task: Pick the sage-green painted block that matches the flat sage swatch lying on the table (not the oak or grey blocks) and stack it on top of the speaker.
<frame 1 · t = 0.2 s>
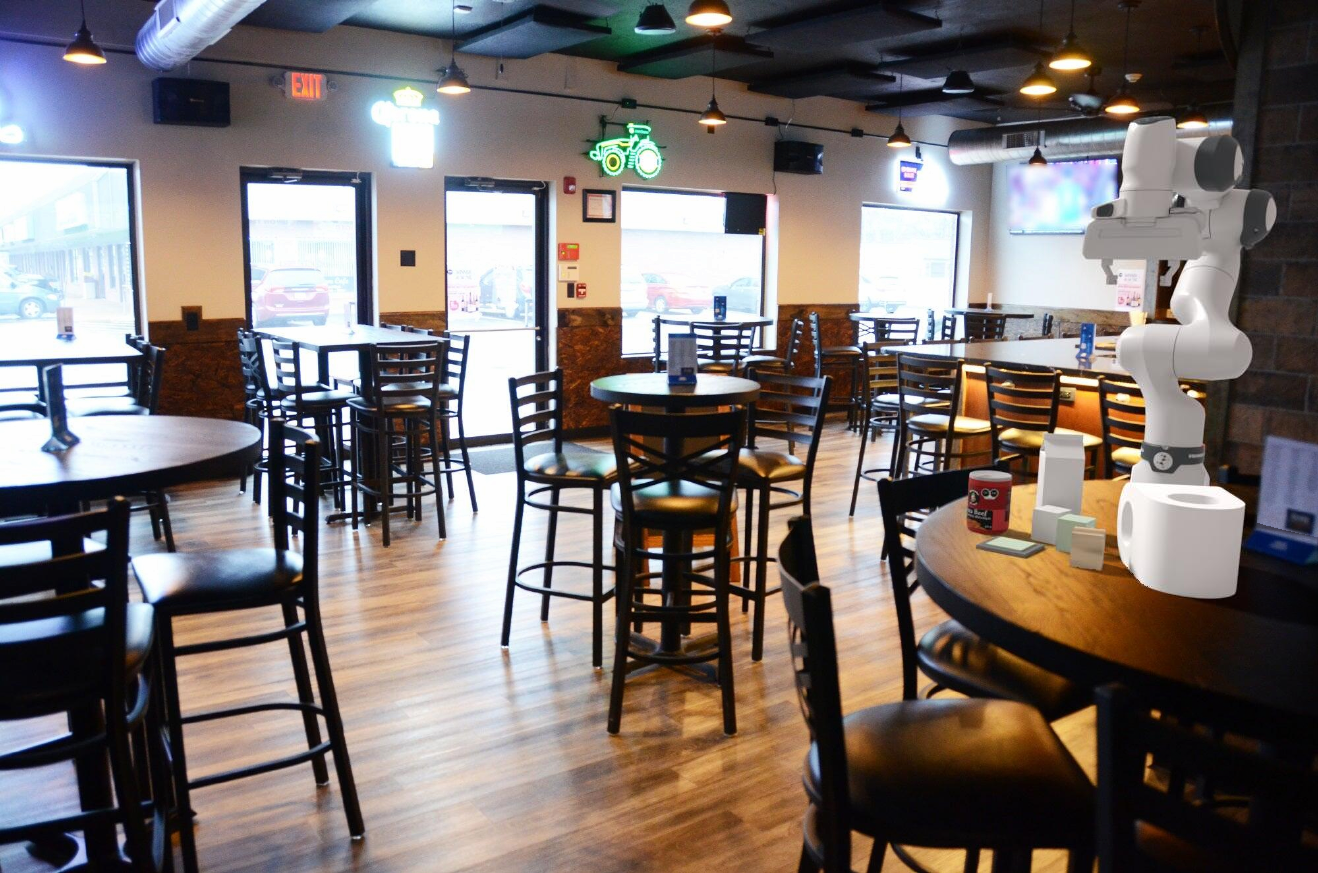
hand: (1137, 285, 192), 47 cm above the table, tool pointing down, fingers open, 8 cm apart
milk carton: (1056, 531, 203), on the table
grey block: (1050, 540, 196), on the table
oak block: (1086, 565, 180), on the table
speaker: (1176, 576, 175), on the table
canned food: (987, 530, 203), on the table
sage block: (1074, 550, 189), on the table
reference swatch: (1010, 548, 190), on the table
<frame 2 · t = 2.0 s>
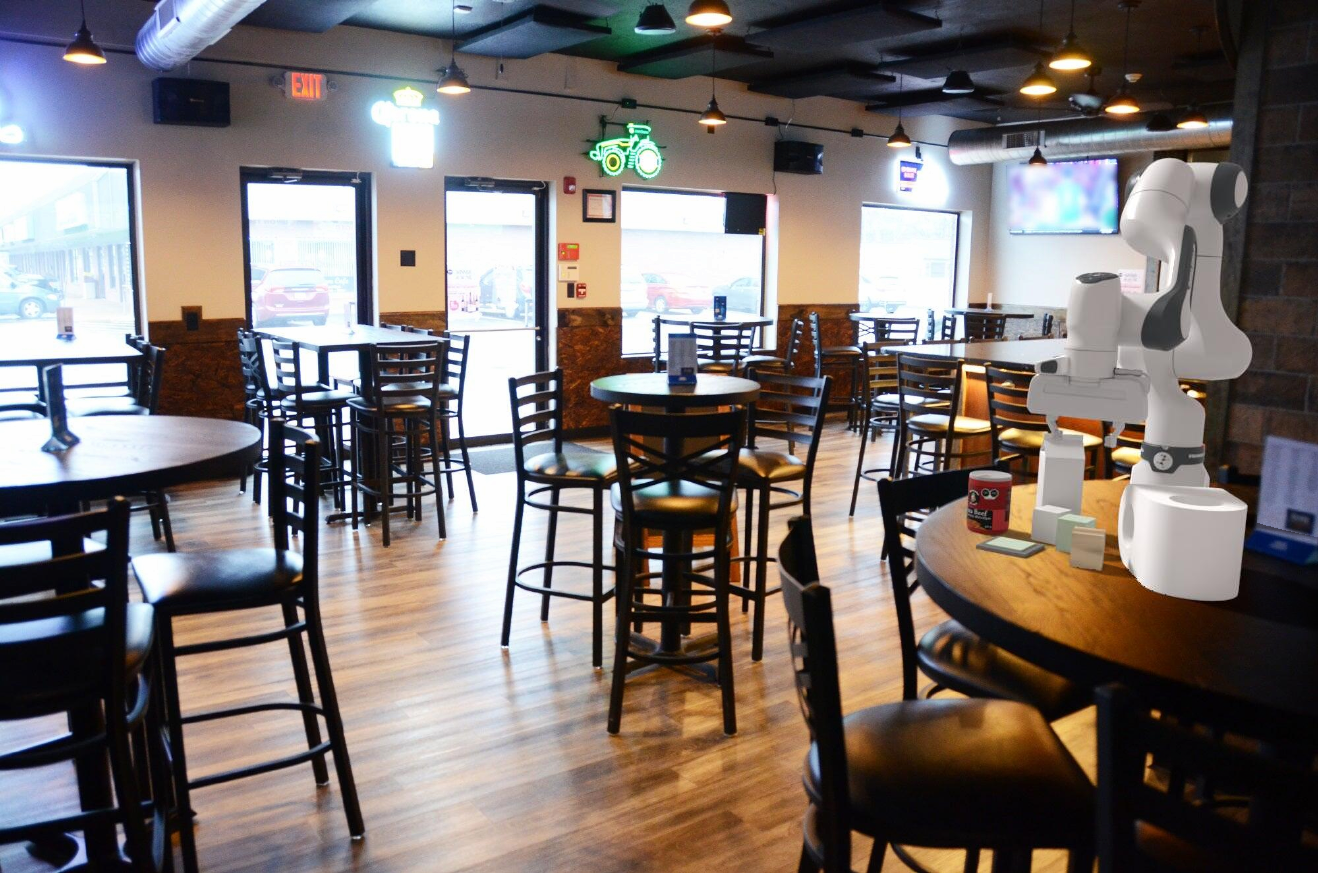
hand: (1082, 443, 186), 20 cm above the table, tool pointing down, fingers open, 8 cm apart
speaker: (1178, 578, 174), on the table
everything else where it was.
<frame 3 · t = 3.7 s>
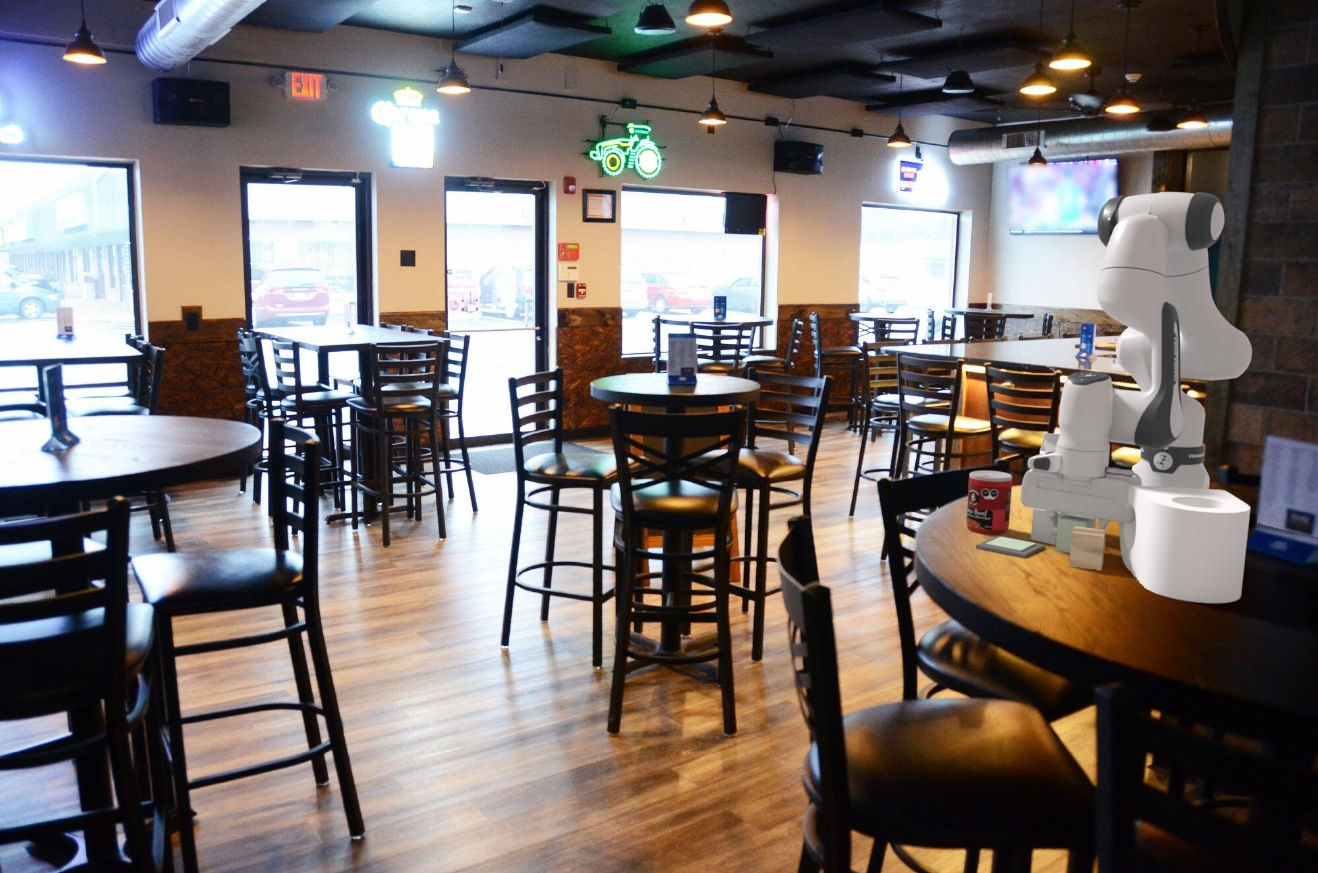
hand: (1075, 538, 189), 2 cm above the table, tool pointing down, fingers open, 6 cm apart
grey block: (1050, 540, 196), on the table, touching gripper
speaker: (1180, 580, 172), on the table
everything else where it was.
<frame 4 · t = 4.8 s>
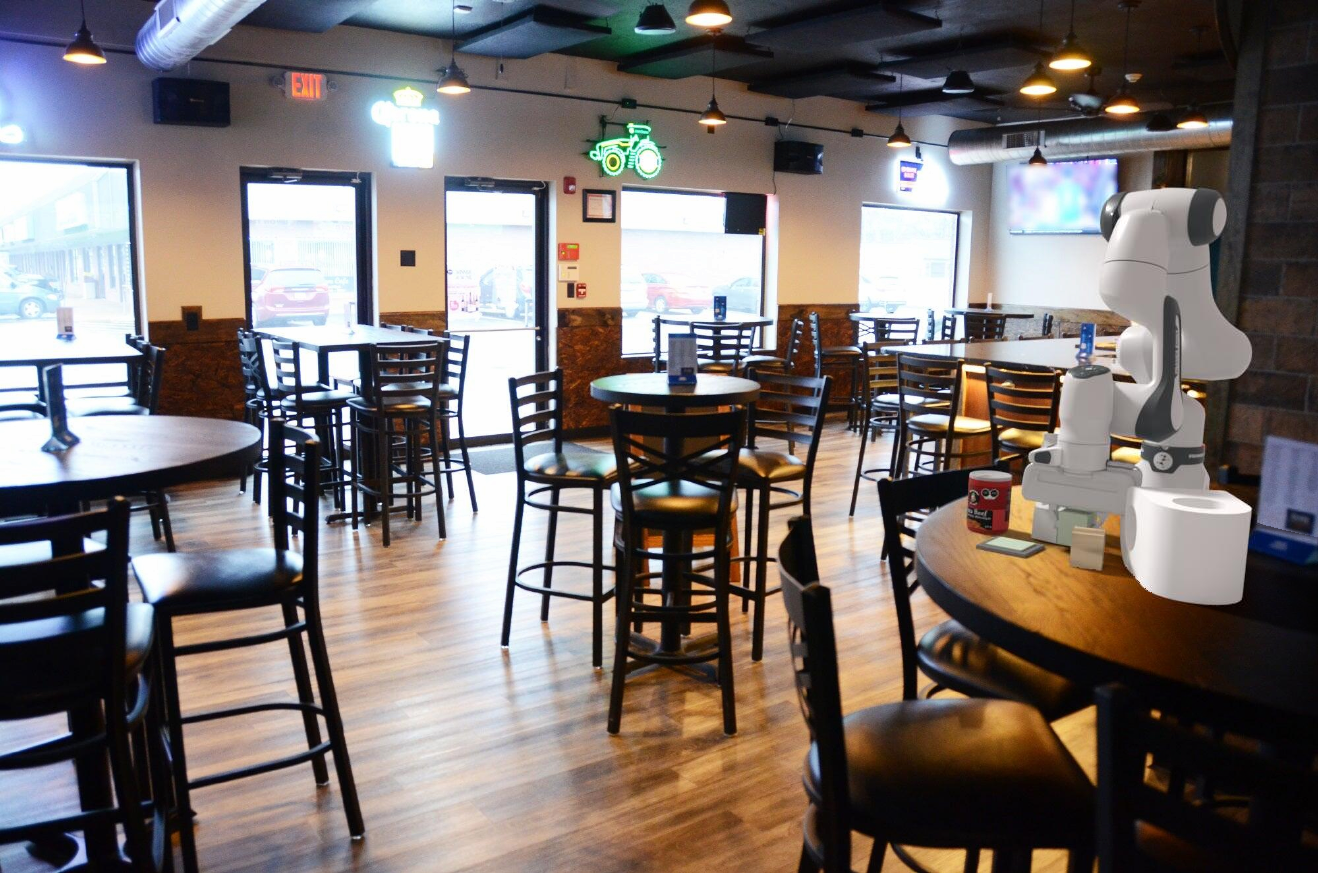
hand: (1076, 531, 189), 3 cm above the table, tool pointing down, fingers closed on sage block, 5 cm apart
grey block: (1050, 539, 196), on the table
sage block: (1076, 543, 189), point 1 cm above the table, touching gripper
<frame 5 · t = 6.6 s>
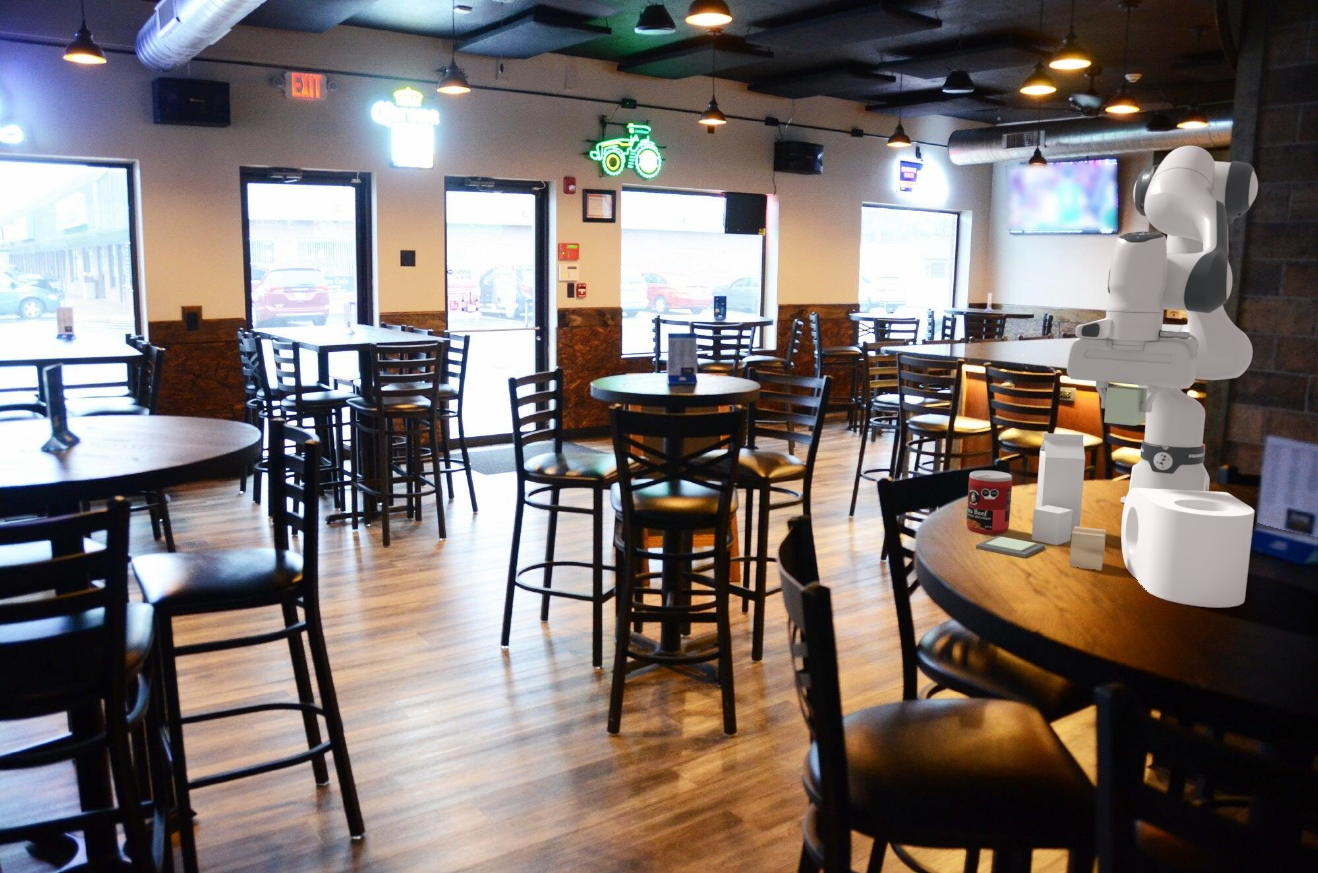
hand: (1125, 410, 179), 26 cm above the table, tool pointing down, fingers closed on sage block, 5 cm apart
speaker: (1183, 584, 170), on the table
sage block: (1124, 422, 179), point 24 cm above the table, touching gripper
everything else where it was.
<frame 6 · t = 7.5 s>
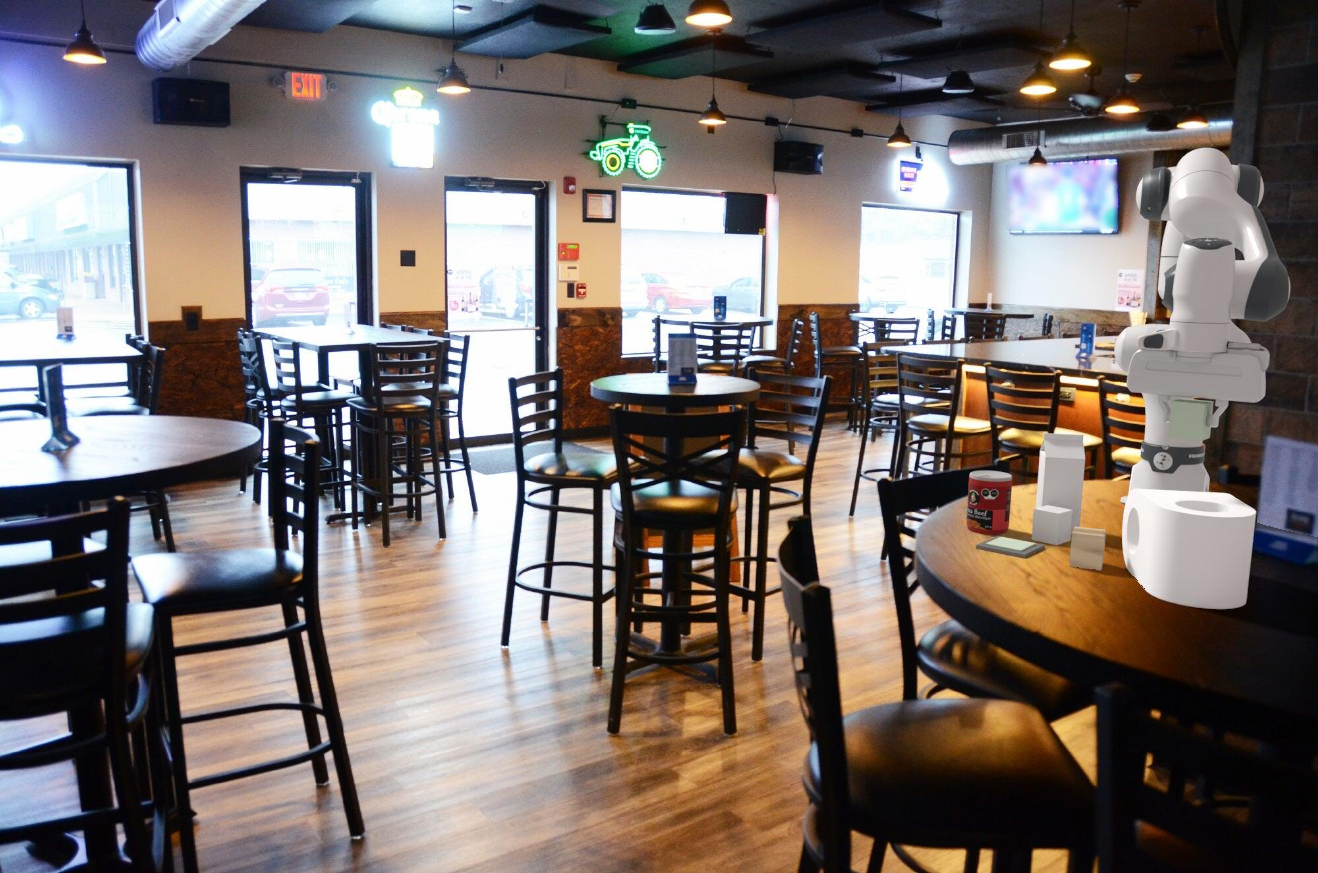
hand: (1190, 424, 171), 25 cm above the table, tool pointing down, fingers closed on sage block, 5 cm apart
sage block: (1188, 437, 171), point 23 cm above the table, touching gripper
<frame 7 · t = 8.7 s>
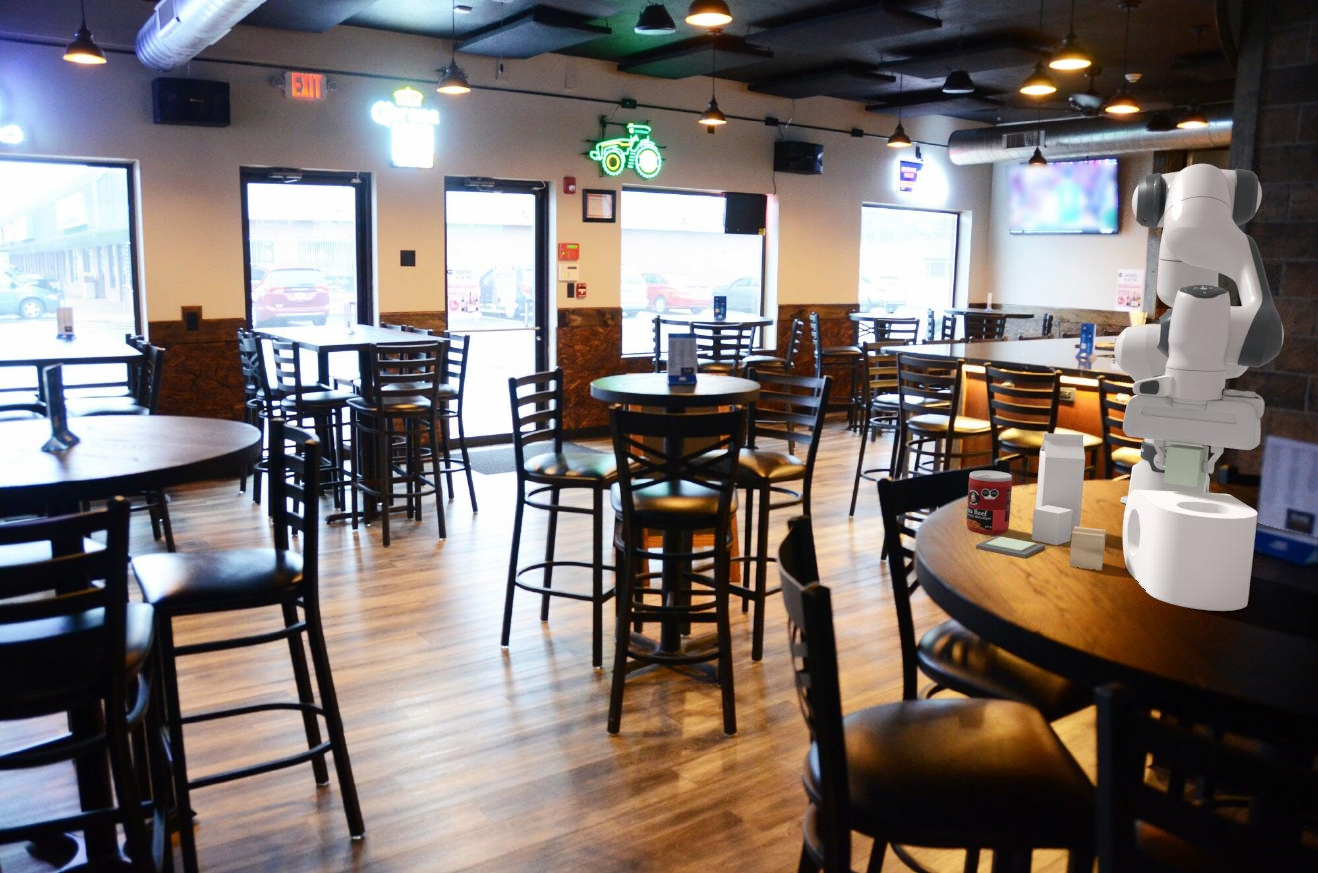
hand: (1185, 469, 172), 18 cm above the table, tool pointing down, fingers closed on sage block, 5 cm apart
sage block: (1184, 482, 172), point 16 cm above the table, touching gripper
when the fingers open (17 cm above the table, at t = 9.3 s): sage block moves 6 cm, resting on speaker.
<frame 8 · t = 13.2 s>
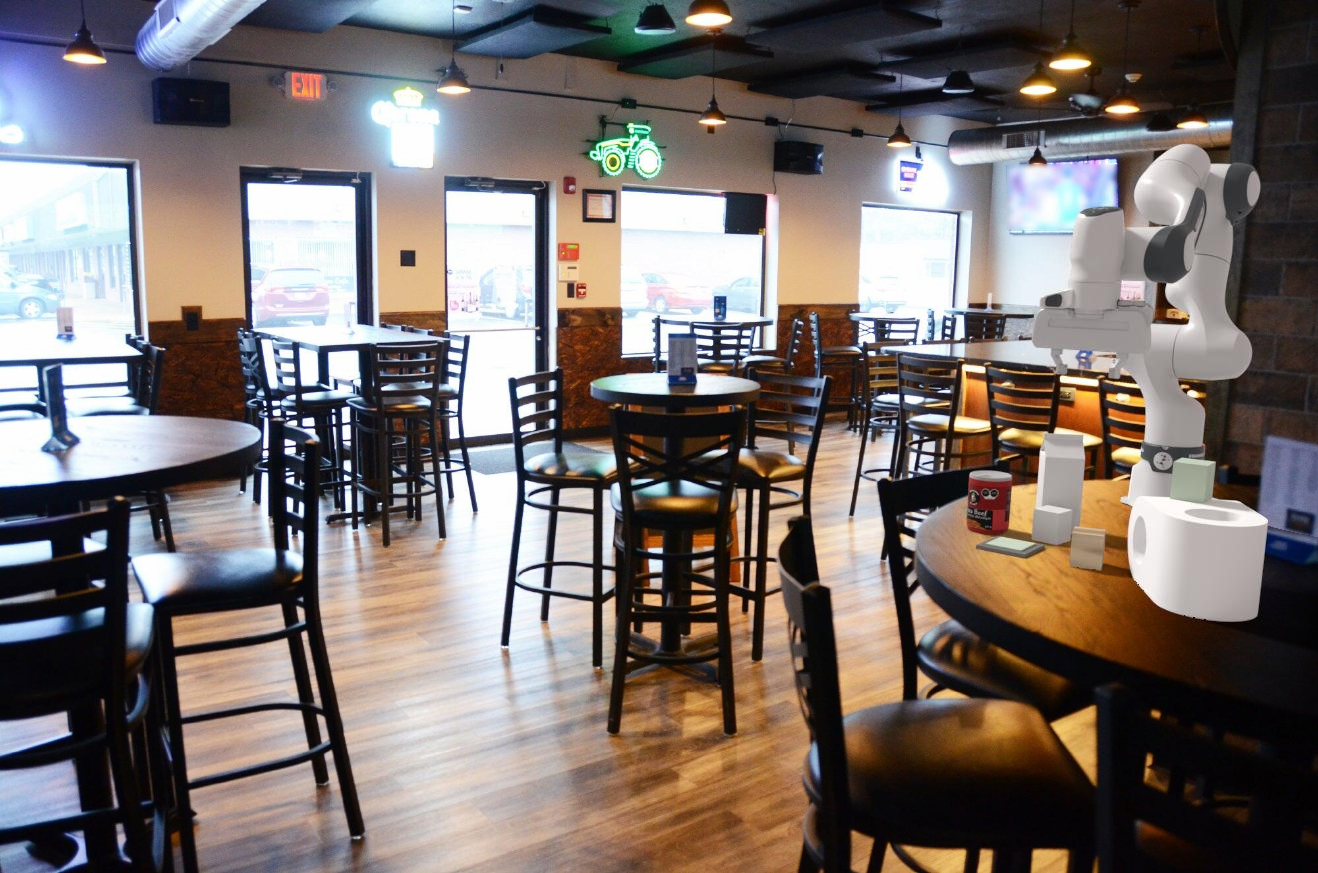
hand: (1087, 376, 189), 31 cm above the table, tool pointing down, fingers open, 8 cm apart
speaker: (1192, 596, 164), on the table, touching sage block
sage block: (1190, 498, 167), point 14 cm above the table, touching speaker
everything else where it was.
at the end: sage block 5.9 cm from the speaker (horizontally); sage block point 14.1 cm above the table; the gripper is holding nothing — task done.
